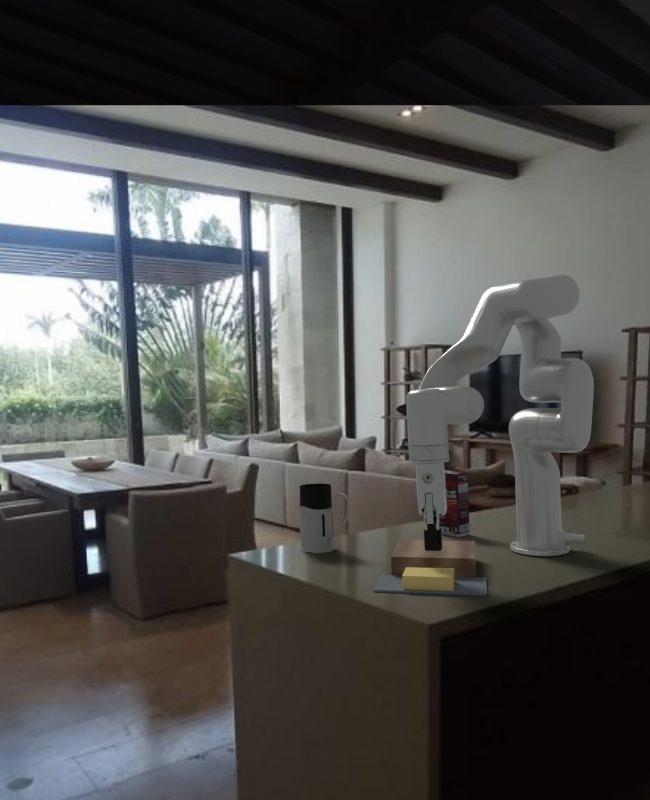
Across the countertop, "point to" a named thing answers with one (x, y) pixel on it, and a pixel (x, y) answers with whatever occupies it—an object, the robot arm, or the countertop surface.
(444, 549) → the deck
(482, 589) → the mat
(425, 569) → the yellow block
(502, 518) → the countertop surface
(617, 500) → the countertop surface
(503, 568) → the countertop surface
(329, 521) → the glass holder
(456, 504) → the supplement box
